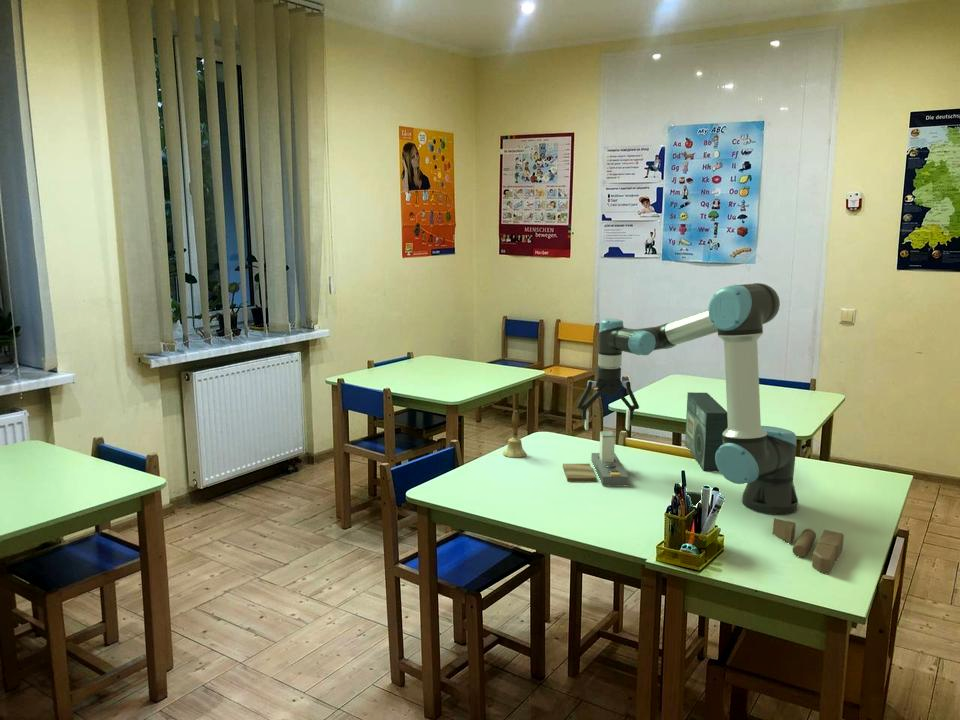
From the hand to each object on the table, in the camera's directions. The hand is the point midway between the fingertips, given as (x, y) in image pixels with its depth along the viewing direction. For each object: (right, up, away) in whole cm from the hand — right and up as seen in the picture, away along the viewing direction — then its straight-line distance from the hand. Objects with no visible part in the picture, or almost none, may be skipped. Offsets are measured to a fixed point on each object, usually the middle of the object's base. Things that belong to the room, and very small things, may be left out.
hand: (606, 429), depth 247 cm
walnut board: (-10, -14, -4) cm, 18 cm away
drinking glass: (+12, -24, -55) cm, 61 cm away
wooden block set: (+38, -26, -61) cm, 76 cm away
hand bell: (-30, -11, +17) cm, 36 cm away
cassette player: (+36, -11, +13) cm, 40 cm away
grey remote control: (0, -14, -3) cm, 14 cm away
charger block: (0, -13, +2) cm, 13 cm away
